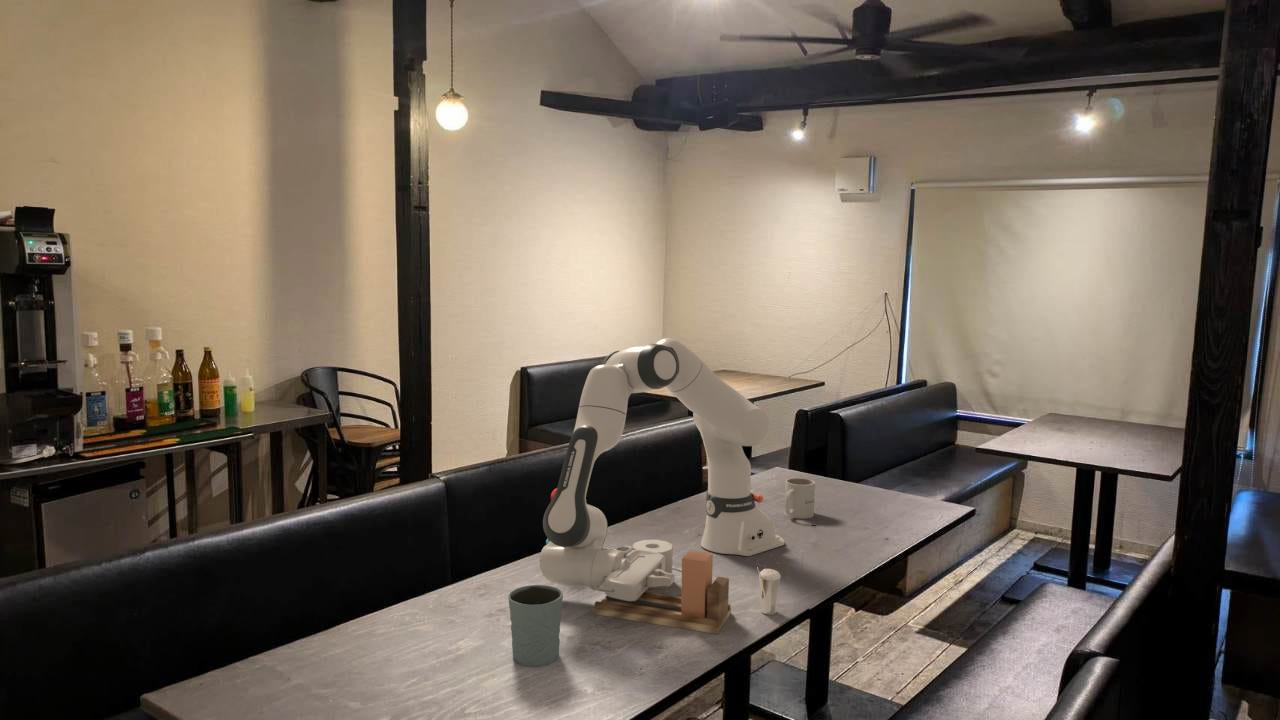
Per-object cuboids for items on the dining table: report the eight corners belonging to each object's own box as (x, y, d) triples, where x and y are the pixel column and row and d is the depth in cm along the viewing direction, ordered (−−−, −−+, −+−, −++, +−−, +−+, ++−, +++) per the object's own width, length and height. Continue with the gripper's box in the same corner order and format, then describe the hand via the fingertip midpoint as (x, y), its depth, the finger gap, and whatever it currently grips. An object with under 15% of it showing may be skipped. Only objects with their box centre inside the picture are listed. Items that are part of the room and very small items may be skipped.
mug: (797, 508, 256) (798, 476, 255) (819, 515, 250) (820, 482, 249) (770, 515, 249) (771, 482, 247) (792, 522, 242) (794, 488, 241)
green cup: (516, 672, 151) (516, 608, 150) (502, 648, 160) (502, 588, 159) (570, 662, 155) (570, 599, 154) (553, 640, 164) (553, 580, 163)
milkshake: (750, 610, 180) (751, 564, 179) (772, 606, 182) (773, 561, 181) (761, 618, 175) (763, 572, 174) (783, 614, 178) (785, 568, 176)
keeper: (681, 615, 173) (682, 558, 172) (688, 605, 178) (689, 550, 177) (704, 618, 171) (705, 561, 170) (711, 608, 176) (712, 553, 175)
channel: (593, 613, 177) (593, 576, 176) (612, 595, 187) (613, 559, 186) (717, 634, 168) (718, 594, 167) (731, 613, 178) (731, 575, 177)
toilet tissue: (613, 576, 198) (613, 541, 197) (668, 573, 201) (668, 538, 200) (618, 591, 189) (618, 554, 188) (676, 588, 192) (676, 551, 191)
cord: (605, 600, 181) (605, 595, 181) (606, 598, 182) (606, 594, 182) (712, 616, 173) (712, 612, 173) (713, 615, 174) (713, 610, 174)
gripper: (592, 573, 170) (656, 582, 166) (627, 543, 189) (686, 550, 185) (592, 603, 171) (656, 613, 166) (627, 570, 190) (686, 578, 185)
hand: (672, 580), depth 176 cm, fingers closed
